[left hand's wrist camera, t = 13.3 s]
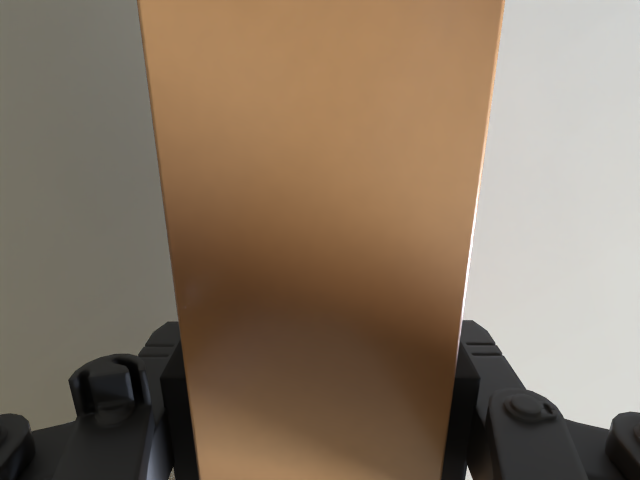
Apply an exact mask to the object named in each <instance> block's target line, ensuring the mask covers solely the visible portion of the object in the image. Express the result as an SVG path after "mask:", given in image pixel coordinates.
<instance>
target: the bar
mask: <svg viewBox="0 0 640 480" xmlns="http://www.w3.org/2000/svg"><path fill="white" fill-rule="evenodd" d="M137 5H138V13H139V21H140V28H141V36H142V44H143V52H144V59H145V67H146V75H147V82H148V90H149V98H150V105H151V113H152V121H153V129H154V136H155V144H156V152H157V159H158V167H159V175H160V182H161V190H162V198H163V206H164V213H165V221H166V229H167V236H168V244H169V252H170V259H171V267H172V275H173V283H174V290H175V298H176V306H177V313H178V321H179V329H180V336H181V344H182V352H183V360H184V367H185V375H186V383H187V390H188V398H189V406H190V414H191V421H192V429H193V437H194V444H195V452H196V460H197V467H198V475H199V480H441V477H442V470H443V462H444V455H445V447H446V440H447V432H448V425H449V417H450V410H451V402H452V395H453V387H454V380H455V372H456V365H457V357H458V350H459V342H460V335H461V327H462V320H463V312H464V305H465V297H466V290H467V282H468V275H469V267H470V260H471V252H472V245H473V237H474V230H475V222H476V215H477V207H478V200H479V192H480V185H481V177H482V170H483V162H484V155H485V147H486V140H487V132H488V125H489V117H490V110H491V102H492V95H493V87H494V80H495V72H496V65H497V57H498V50H499V42H500V35H501V27H502V20H503V12H504V5H505V0H137Z"/></svg>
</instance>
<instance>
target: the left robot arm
mask: <svg viewBox="0 0 640 480" xmlns="http://www.w3.org/2000/svg"><path fill="white" fill-rule="evenodd" d="M68 381H69V385H70V389H71V393H72V397H73V401H74V405H75V409H76V414H77V418H76V421H73V422H69V423H66V424H62V425H58V426H54V427H49V428H45V429H40V430H36V431H32V432H31V429H30V425H29V422H28V420H26V419H25V418H24V417H23V416H22V415H16V414H2V415H0V480H168V479H169V476H170V473H171V471H172V468H174V474H175V480H199V475H198V467H197V460H196V452H195V444H194V437H193V429H192V421H191V414H190V406H189V398H188V390H187V383H186V375H185V367H184V360H183V352H182V344H181V336H180V329H179V322H167V323H165V324H164V325H163V326H161V327H160V328H158V329H157V330H156V331H154V332H153V333H152V335H151V336H150V338H149V339H148V341H147V342H146V344H145V347H143V349H142V350H141V352H140V353H139V355H138V356H135V355H131V354H113V355H109V356H104V357H100V358H98V359H95V360H93V361H91V362H88V363H86V364H85V365H84V366H82V367H81V368H79V369H78V370H76V371H75V372H74V374H73V375H72V376H71V377H70V379H69V380H68ZM467 465H468V468H469V470H470V473H471V476H472V478H473V480H640V413H637V412H626V413H620V414H618V415H617V416H616V417H615V418H614V419H613V420H612V423H611V427H610V430H608V429H604V428H599V427H595V426H590V425H586V424H581V423H577V422H574V421H570V420H567V419H564V417H563V415H562V414H561V412H560V411H559V409H558V408H557V407H556V406H555V405H554V404H553V403H552V402H550V401H549V400H548V399H547V398H545V397H543V396H541V395H539V394H537V393H535V392H533V391H529V390H526V388H525V387H524V385H523V384H522V382H521V381H520V379H519V378H518V376H517V375H516V373H515V372H514V370H513V369H512V367H511V366H510V364H509V363H508V361H507V360H506V358H505V357H504V356H502V352H501V351H500V349H499V348H498V346H497V345H495V342H494V340H493V339H492V337H491V336H490V334H489V333H488V331H487V330H485V329H484V328H483V327H481V326H480V325H478V324H477V323H476V322H474V321H473V320H462V327H461V335H460V342H459V350H458V357H457V365H456V372H455V380H454V387H453V395H452V402H451V410H450V417H449V425H448V432H447V440H446V447H445V455H444V462H443V470H442V477H441V480H465V476H466V470H467Z"/></svg>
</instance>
